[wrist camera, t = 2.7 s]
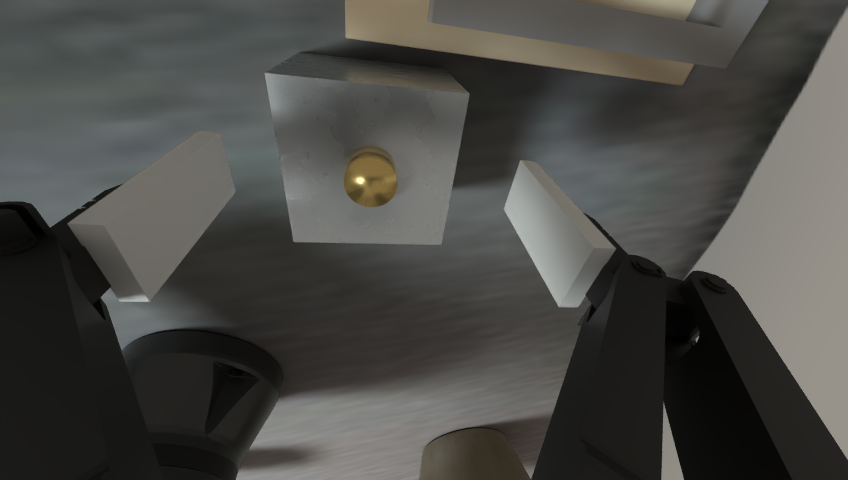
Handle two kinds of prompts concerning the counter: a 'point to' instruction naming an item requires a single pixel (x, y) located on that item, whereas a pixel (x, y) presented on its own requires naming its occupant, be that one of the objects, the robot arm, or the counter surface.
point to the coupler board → (503, 48)
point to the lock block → (366, 148)
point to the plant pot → (471, 457)
